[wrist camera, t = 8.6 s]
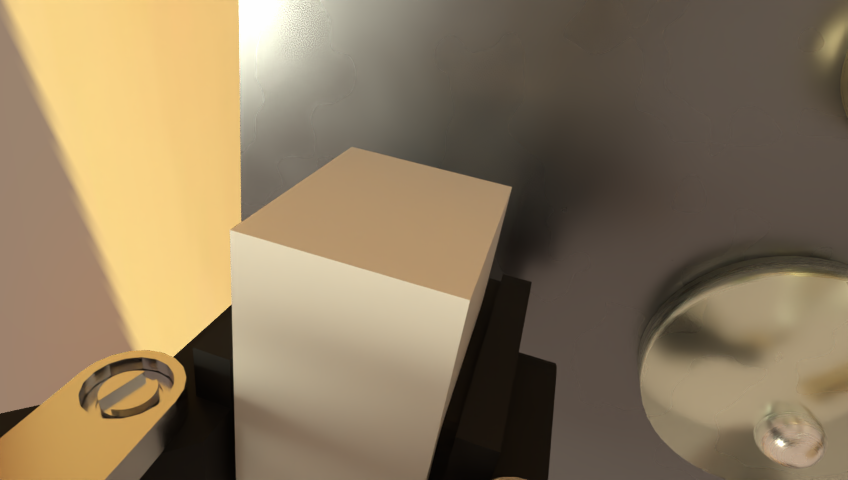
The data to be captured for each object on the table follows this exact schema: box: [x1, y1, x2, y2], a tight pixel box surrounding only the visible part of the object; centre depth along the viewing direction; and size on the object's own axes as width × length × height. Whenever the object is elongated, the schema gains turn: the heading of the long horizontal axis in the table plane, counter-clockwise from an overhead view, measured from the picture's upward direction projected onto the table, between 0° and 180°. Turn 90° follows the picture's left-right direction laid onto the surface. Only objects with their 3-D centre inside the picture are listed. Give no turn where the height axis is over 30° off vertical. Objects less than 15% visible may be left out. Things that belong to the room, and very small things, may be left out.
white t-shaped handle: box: [230, 147, 512, 480], centre depth 9 cm, size 7×2×6 cm, turn 170°
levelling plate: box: [239, 0, 848, 480], centre depth 11 cm, size 18×24×4 cm
